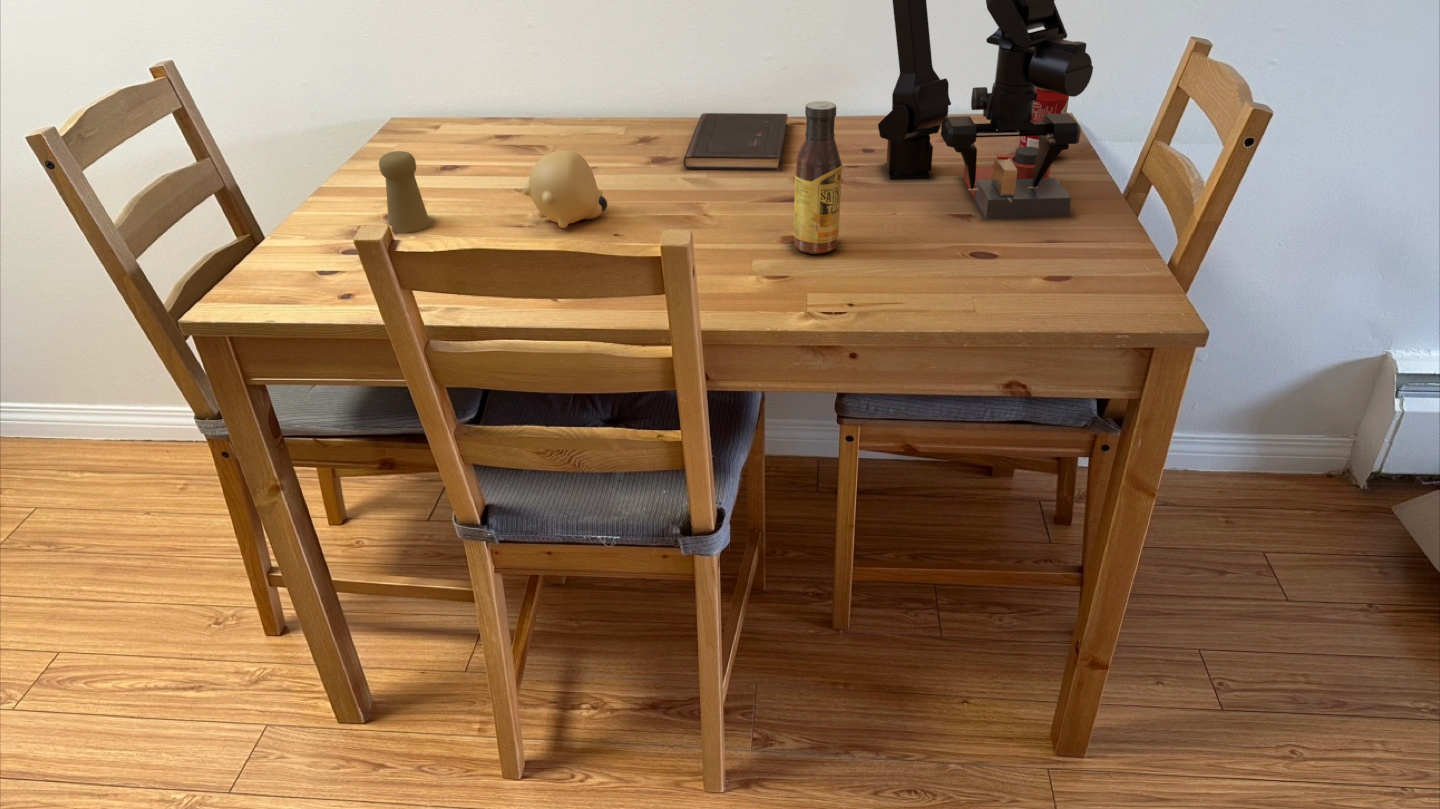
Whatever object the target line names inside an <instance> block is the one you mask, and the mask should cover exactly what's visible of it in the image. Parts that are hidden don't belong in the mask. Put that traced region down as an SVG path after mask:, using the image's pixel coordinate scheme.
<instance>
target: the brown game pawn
mask: <svg viewBox="0 0 1440 809" xmlns="http://www.w3.org/2000/svg"><path fill="white" fill-rule="evenodd" d="M378 168H379V172H380V173H381V174H380V175H381V176H383V178H385V193H386V205H387V207H386V208H387V222H388V226H389V225H390V226H392V229H393V231H392V232H393V233H399V234H408V233H415V232H418V231H422V230H424V229H426V228H427V227H428V226H430V224H431V222H430V219H429V218H430V217H429V216H428V212H427V210H426V206H425V203H424V200H423V197H422V194H421V191H420V188H419V185H418V182H417V179H416V176H415V173H416V171H417V162H416V159H415V157H414V156H413V154H412V153H410V152H408V151H405V150H396V151H389V152H386V153H384V154H383V155H381V157H380V158H379V161H378Z"/></svg>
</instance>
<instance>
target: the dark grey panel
mask: <svg viewBox="0 0 1440 809" xmlns="http://www.w3.org/2000/svg"><path fill="white" fill-rule="evenodd" d="M972 190H976V191H975V197H974V200H975V202H976V204H977V205H978V207H979V209H980V211H981V212H982V214H983V216H984V218H985V219H986V220H987V219H988V220H989V219H990V220H991V219H1024V218H1025V219H1026V218H1027V219H1028V218H1030V219H1031V218H1058V217H1059V218H1062V217H1063V218H1064V217H1069V213H1070V206H1071V203H1072V202H1071V201H1072V196H1070V194H1069V192H1067V191H1066V189H1065V188H1064V187H1063V185H1062V184H1061V183H1060V182H1059V180H1058V178H1057V177H1050V178H1042V179H1041V181H1040V182H1039V184H1038V185H1037V187H1033V186H1032V179H1016V186H1015V193H1014V196H1000V194H999V193H998V191H997V190H996V188H995V186H994V185H993V183H992V180H977V182H976V189H969V188H967V191H968V192H969V191H970V192H971V191H972Z"/></svg>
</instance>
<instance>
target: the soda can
mask: <svg viewBox="0 0 1440 809" xmlns="http://www.w3.org/2000/svg"><path fill="white" fill-rule="evenodd" d="M1036 92H1037V101H1034V108H1033V116H1032V121H1033V122H1042V121H1043V117H1044V116H1045V114H1067V113H1068V107H1069V99H1070V96H1067V95H1063V94H1060V93H1056V92H1052V91H1049V90H1045V89H1041V88H1038V87H1036ZM1018 144H1019V145H1018V148H1020V147H1035V148H1039V136H1019V142H1018ZM1061 153H1062V151H1061V152H1060V154H1059V155H1058V156H1057V157H1056V158H1058V157H1059V156H1060V155H1061Z"/></svg>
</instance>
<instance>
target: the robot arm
mask: <svg viewBox="0 0 1440 809" xmlns="http://www.w3.org/2000/svg"><path fill="white" fill-rule="evenodd" d="M1055 1H1056V0H985V3H986V4H985V5H986V9H987V11H988V13H989V14H990V16H991V18H992V19H993V21H994V23H995V24H996V26H997V27H998V28H997V30H995V32H993V33H992V34H991V35H989V36H988V37H987V38H986V43H987V44H989V45H994V46H997V47H998V51H997V59H996V68H995V78H994V82H993V83H992V87H991V92H988V91H989V90H988V87H987V86H982V87H981V86H980V87H979V86H978V87H972V91H971V100H970V108H971V111H982V116H983V117H985V119H986V120H987V121H990V122H989V123H988V122H987V123H986V122H984V123H983V122H982V123H976V122H974V121H973V118H972V117H971V116H969V115H965V116H964V115H963V116H948V115H949V106H951V105H952V101H951V100H950V95H949V84H950V83H949V80H948V79H947V78H946V77H945V78H942V79H941V78H940V76H938V74H937V72H936V71H935V70H934V67H933V59H932V49H931V48H932V47H931V38H930V36H931V35H930V26H929V16H928V4H927V0H892V1H891V2H892V9H893V20H894V29H895V30H894V31H895V38H896V48H897V57H898V58H897V60H898V66H899V75H898V77H897V81H896V83H895V86H894V89H893V90H892V94H891V95H892V96H891V97H892V99H891V111H889V112H888V114H886V116H884V117H883V119H881V121H880V122H878V124H877V128H878V133H879V138H881V139H884V140H887V146H886V147H887V148H886V161H885V163H883V165H884V166H883V167H884V169H885V172H886V175H887V177H888V179H889V180H913V179H914V180H915V179H919V180H920V179H930V177H931V176H930V175H931V174H930V171H932V166H933V165H932V164H933V153H934V146H933V144H932V142H931V136H930V135H934V134H938V133H939V132H940V136H941V138H942V140H943V141H944V144H945V145H946V147H949V148H953V150H954V152H956V153H959V154H960V155H961V157H962V160H963V164H964V168H966V173H967V177H968V181H969V186H970V188H971V189H974V185H975V180H976V167H977V160H978V159H977V158H978V149H977V146H976V145H975V143H976V142H977V138H1004V137H1006V138H1007V137H1009V138H1010V137H1020V136H1039V148H1038V153H1037V158H1036V163H1035V167H1034V172H1033V179H1032V186H1033V187H1037V185H1038V184H1039V182H1040V181H1041V179H1042V177H1043V176H1044V174H1045V173H1046V171H1047V170H1048V168H1049V167H1050V165H1051V166H1052V164H1053V163H1054V161H1055V160H1056V159H1057V158H1058V157H1059V156H1060V155H1061V154H1060V152H1061V153H1062V152H1063V151H1067V150H1069V148H1070V145H1077V144H1079V143H1080V139H1081V132H1082V131H1081V126H1080V124H1079V123H1078V122H1077V121H1076V120H1075V119H1074V117H1073V116H1072V115H1071V114H1070V113H1068V112H1067V114H1045V116H1044V117H1043V121H1042V122H1033V121H1032V116H1033V108H1034V101H1037V92H1036V87H1038V88H1041V89H1045V90H1049V91H1052V92H1056V93H1060V94H1063V95H1067V96H1069V97H1073V98H1075V97H1078V96H1079V95H1081V94H1082V93H1083V92H1085V90H1086V88H1087V87H1088V85H1089V84H1090V82H1091V79H1092V76H1093V72H1094V66H1093V61H1092V58H1091V55H1090V54H1089V53H1087V52H1086V50H1087V43H1086V42H1085V41H1079V40H1077V41H1074V40H1073V41H1072V40H1069V39H1067V38H1068V33H1067V30H1066V27H1065V26H1064V25H1065V24H1064V23H1063V20H1062V18H1061V15H1060V13H1059V11H1058V7H1057V5H1056V3H1055ZM1042 27H1043V28H1044V29H1040V28H1042ZM1035 29H1039V30H1036V31H1035ZM1032 30H1034V31H1032ZM1029 31H1031V32H1029ZM1059 154H1060V155H1059ZM1058 155H1059V156H1058ZM1057 156H1058V157H1057Z"/></svg>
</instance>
